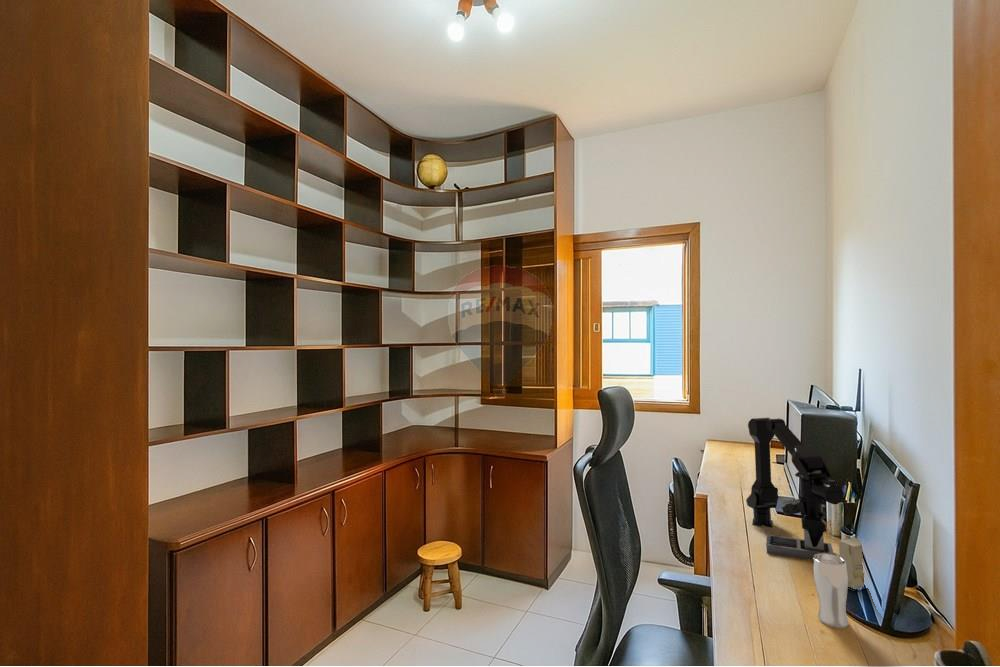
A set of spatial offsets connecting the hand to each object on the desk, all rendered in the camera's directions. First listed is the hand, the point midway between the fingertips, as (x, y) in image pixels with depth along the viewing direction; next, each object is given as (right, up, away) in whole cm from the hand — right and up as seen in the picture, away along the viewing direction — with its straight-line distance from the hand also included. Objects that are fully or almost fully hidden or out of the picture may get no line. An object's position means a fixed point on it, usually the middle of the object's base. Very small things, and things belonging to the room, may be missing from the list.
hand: (813, 543), depth 152 cm
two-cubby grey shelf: (-3, -4, +2) cm, 5 cm away
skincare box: (-1, -3, -20) cm, 20 cm away
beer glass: (-19, -4, -35) cm, 40 cm away
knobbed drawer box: (0, -2, 0) cm, 2 cm away
